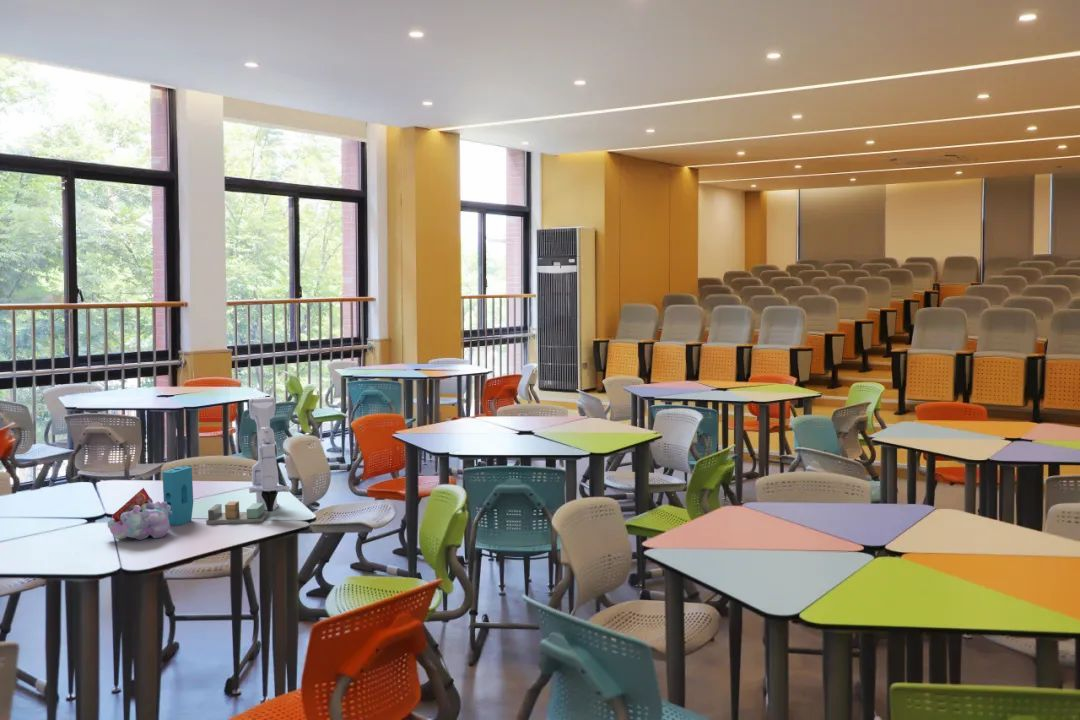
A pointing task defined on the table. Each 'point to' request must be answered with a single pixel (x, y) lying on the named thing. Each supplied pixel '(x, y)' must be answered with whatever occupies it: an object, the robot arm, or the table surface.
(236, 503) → the walnut block
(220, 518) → the vise
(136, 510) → the lumpy lavender blob
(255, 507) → the block
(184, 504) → the block
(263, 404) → the robot arm
